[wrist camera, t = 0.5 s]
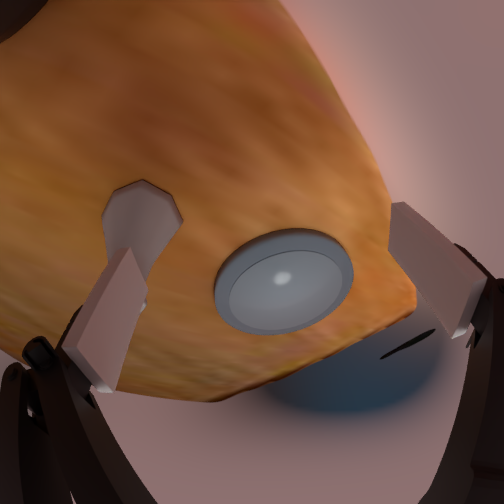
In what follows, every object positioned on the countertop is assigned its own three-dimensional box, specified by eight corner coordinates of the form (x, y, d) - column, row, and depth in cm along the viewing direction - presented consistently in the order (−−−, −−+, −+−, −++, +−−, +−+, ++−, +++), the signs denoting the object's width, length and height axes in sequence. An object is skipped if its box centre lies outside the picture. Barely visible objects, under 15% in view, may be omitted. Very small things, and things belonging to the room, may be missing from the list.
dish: (187, 264, 29) (187, 276, 27) (338, 205, 27) (344, 215, 25) (245, 338, 39) (247, 348, 38) (353, 298, 37) (358, 308, 36)
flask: (142, 259, 27) (129, 344, 20) (90, 213, 23) (52, 295, 15) (197, 221, 26) (198, 309, 18) (143, 164, 21) (113, 240, 14)
